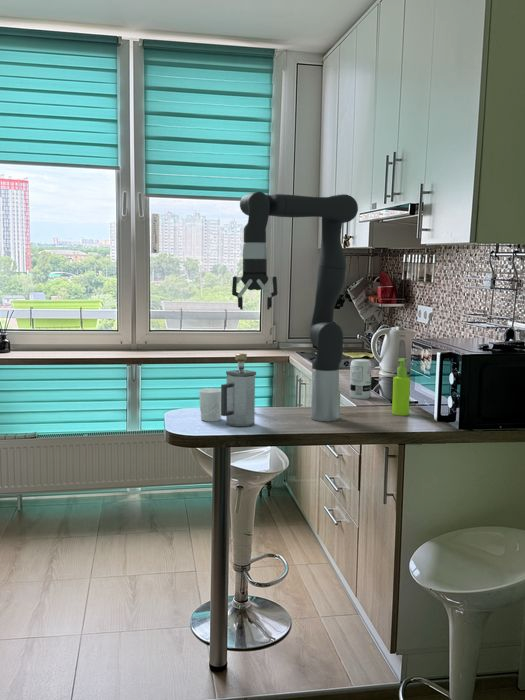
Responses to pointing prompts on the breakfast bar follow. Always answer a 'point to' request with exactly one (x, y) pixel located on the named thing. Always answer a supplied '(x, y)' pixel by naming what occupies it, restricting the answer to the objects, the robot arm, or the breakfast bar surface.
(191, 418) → the breakfast bar surface
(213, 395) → the white cup
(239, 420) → the carafe
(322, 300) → the robot arm
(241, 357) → the plunger
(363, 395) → the supplement can
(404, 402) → the soap dispenser
